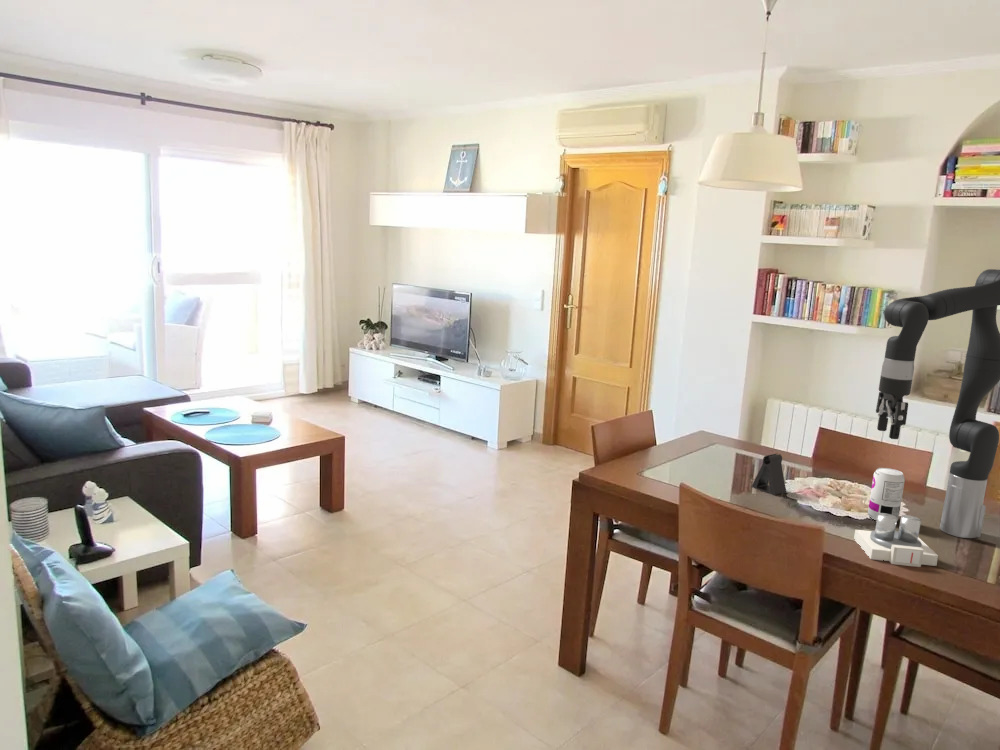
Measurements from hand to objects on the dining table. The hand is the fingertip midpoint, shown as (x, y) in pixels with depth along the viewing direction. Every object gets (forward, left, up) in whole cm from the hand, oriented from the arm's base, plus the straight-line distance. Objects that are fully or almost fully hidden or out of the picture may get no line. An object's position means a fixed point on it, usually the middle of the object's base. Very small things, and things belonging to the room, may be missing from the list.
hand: (887, 434), depth 196 cm
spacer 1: (0, +8, -26) cm, 28 cm away
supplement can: (-9, -17, -30) cm, 36 cm away
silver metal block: (-6, +8, -26) cm, 28 cm away
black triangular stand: (+20, -35, -30) cm, 50 cm away
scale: (-3, +9, -30) cm, 32 cm away
